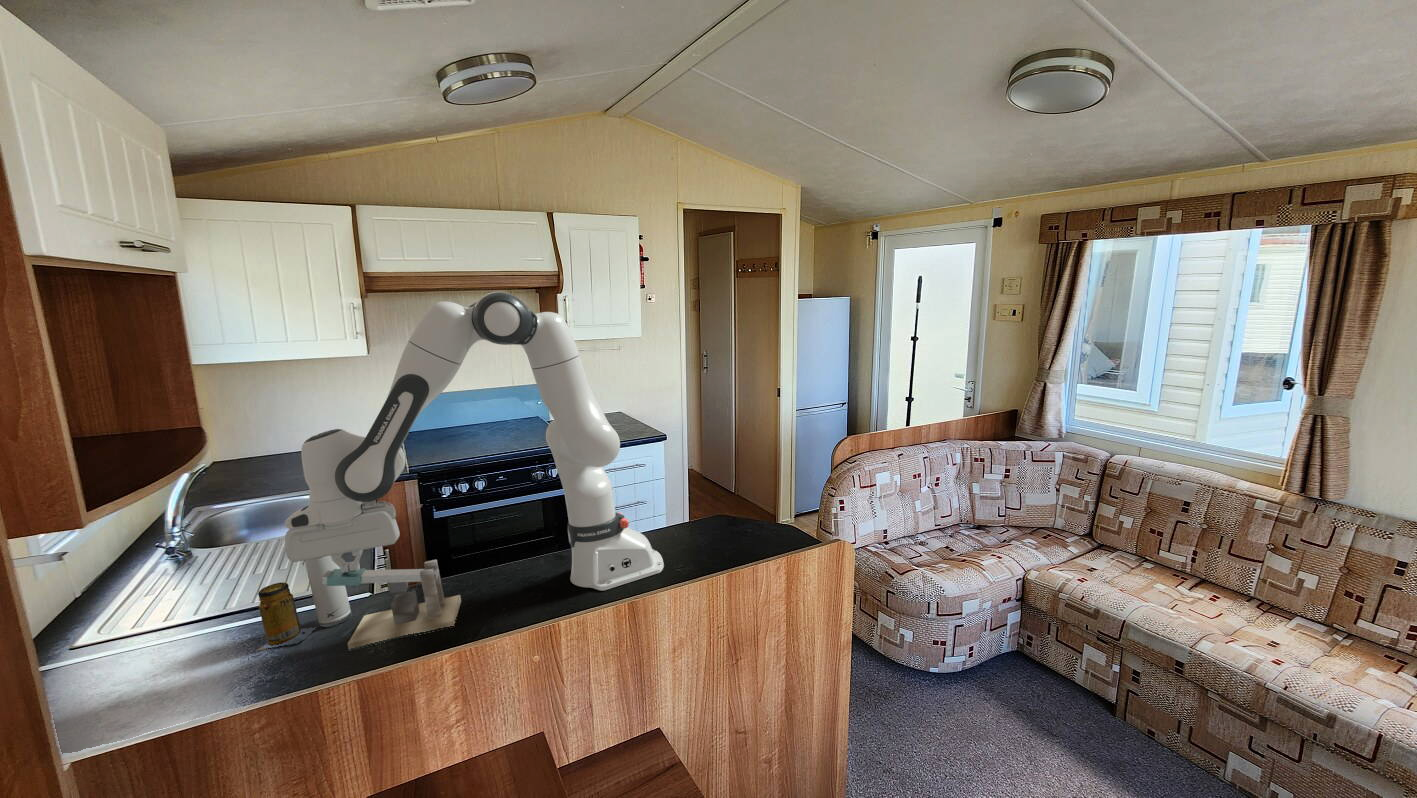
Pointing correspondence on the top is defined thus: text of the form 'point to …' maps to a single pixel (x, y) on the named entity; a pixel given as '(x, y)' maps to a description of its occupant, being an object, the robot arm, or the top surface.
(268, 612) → the condiment
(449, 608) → the press base
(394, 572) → the press lever
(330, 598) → the travel mug
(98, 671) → the top surface
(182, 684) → the top surface
